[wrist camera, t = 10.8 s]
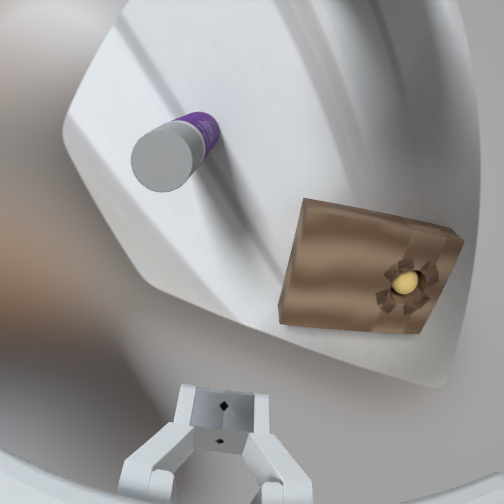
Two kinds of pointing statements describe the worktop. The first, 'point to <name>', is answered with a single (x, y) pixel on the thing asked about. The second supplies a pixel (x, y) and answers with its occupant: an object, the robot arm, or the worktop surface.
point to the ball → (405, 282)
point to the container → (173, 151)
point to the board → (364, 269)
